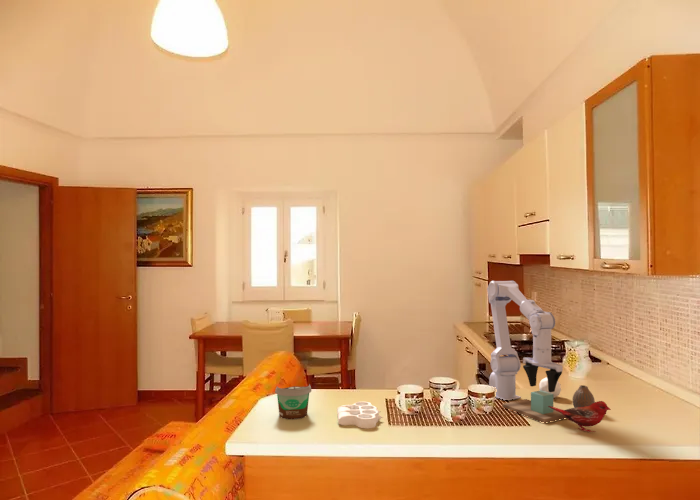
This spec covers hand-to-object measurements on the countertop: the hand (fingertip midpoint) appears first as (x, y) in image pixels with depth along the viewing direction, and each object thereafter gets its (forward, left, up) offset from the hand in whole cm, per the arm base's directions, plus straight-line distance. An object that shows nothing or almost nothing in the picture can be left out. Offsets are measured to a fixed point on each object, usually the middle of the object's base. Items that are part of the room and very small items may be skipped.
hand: (542, 388), depth 165 cm
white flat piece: (-27, -56, -10) cm, 62 cm away
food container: (-38, -74, -9) cm, 84 cm away
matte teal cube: (0, 0, -8) cm, 8 cm away
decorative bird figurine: (+15, -2, -9) cm, 18 cm away
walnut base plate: (-3, 0, -9) cm, 9 cm away
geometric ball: (-13, +20, -9) cm, 26 cm away
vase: (+4, +16, -9) cm, 19 cm away
